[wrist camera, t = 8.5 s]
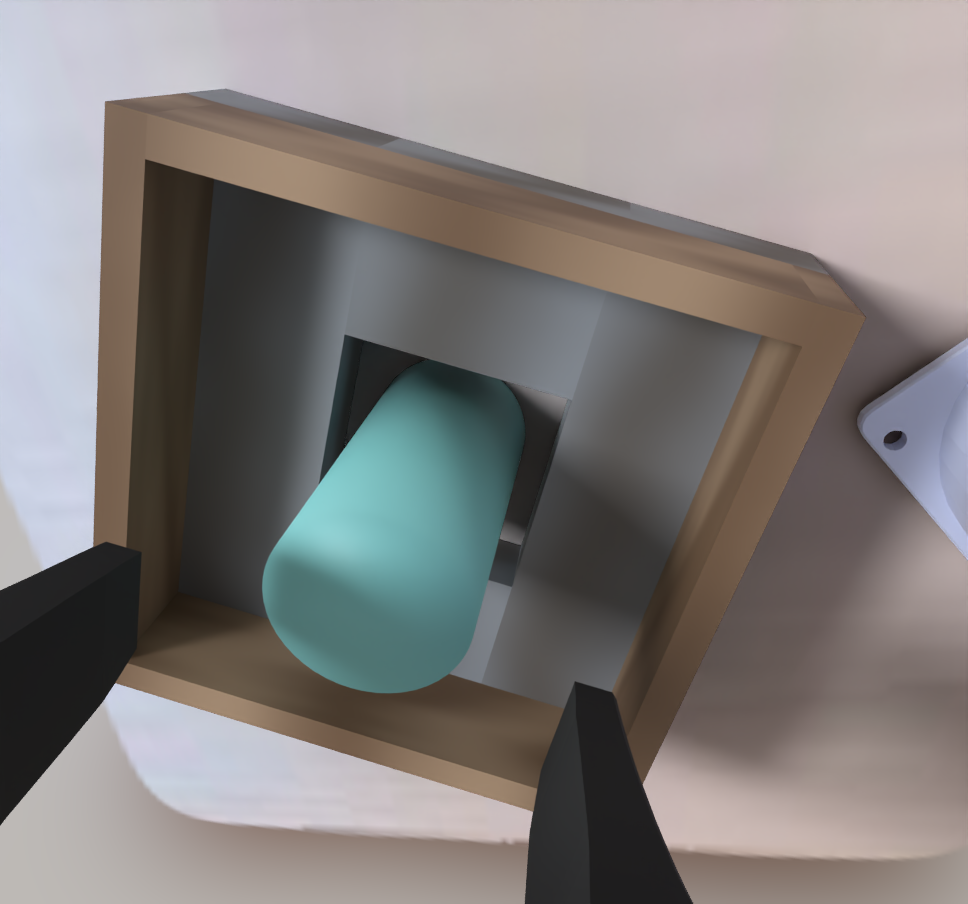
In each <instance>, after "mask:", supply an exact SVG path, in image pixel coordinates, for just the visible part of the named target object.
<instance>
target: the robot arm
mask: <svg viewBox="0 0 968 904" xmlns="http://www.w3.org/2000/svg"><path fill="white" fill-rule="evenodd" d="M857 426H858V428H859V430H860V432H861V434H862V436H863V437H864V439H865V440H866V441H867V442H868V443H869V444H870V446H871V447H872V448H873V449H874V450H875V451H876V453H877V454H878V455H879V456H880V457H881V459H882V460H883V461H884V462H885V463H886V464H887V466H888V467H889V468H890V469H891V470H892V472H893V473H894V474H895V475H896V476H897V477H898V479H899V480H900V481H901V482H902V483H903V485H904V486H905V487H906V488H907V489H908V490H909V492H910V493H911V494H912V495H913V496H914V497H915V499H916V500H917V501H918V502H919V503H920V505H921V506H922V507H923V508H924V509H925V510H926V512H927V513H928V514H929V515H930V516H931V518H932V519H933V520H934V521H935V522H936V523H937V525H938V526H939V527H940V528H941V529H942V531H943V532H944V533H945V534H946V535H947V536H948V538H949V539H950V540H951V541H952V542H953V544H954V545H955V546H956V547H957V548H958V549H959V551H960V552H961V553H962V554H963V555H964V556H965V558H966V559H967V560H968V338H967V339H965V340H964V341H962V342H961V343H959V344H958V345H956V346H955V347H953V348H952V349H950V350H949V351H947V352H946V353H944V354H943V355H941V356H940V357H938V358H937V359H935V360H934V361H932V362H931V363H929V364H928V365H926V366H925V367H923V368H922V369H920V370H919V371H917V372H916V373H914V374H913V375H911V376H910V377H908V378H907V379H905V380H904V381H902V382H901V383H899V384H898V385H897V386H895V387H894V388H892V389H891V390H889V391H888V392H886V393H885V394H883V395H882V396H880V397H879V398H877V399H876V400H874V401H873V402H871V403H870V404H868V405H867V406H866V407H865V408H864V409H863V410H861V412H860V414H859V416H858V418H857ZM894 430H895V431H902V436H901V438H900V439H899V440H898V441H897V442H894V443H892V444H889V443H884V442H883V440H884V437H885V436H886V435H887V434H888V433H889V432H892V431H894ZM141 556H142V552H140V551H136V550H133V549H130V548H126V547H123V546H119V545H116V544H113V543H109V542H104V543H102V544H99V545H97V546H95V547H92V548H90V549H88V550H86V551H84V552H82V553H79V554H77V555H75V556H73V557H71V558H69V559H67V560H65V561H62V562H60V563H58V564H56V565H54V566H52V567H50V568H48V569H46V570H44V571H41V572H39V573H37V574H35V575H33V576H31V577H29V578H27V579H24V580H22V581H20V582H18V583H16V584H13V585H11V586H9V587H7V588H5V589H3V590H0V825H1V824H2V823H3V821H4V820H5V819H6V817H7V816H8V815H9V814H10V812H11V811H12V810H13V809H14V808H15V807H16V805H17V804H18V803H19V802H20V801H21V799H22V798H23V797H24V796H25V795H26V794H27V792H28V791H29V790H30V789H31V788H32V786H33V785H34V784H35V783H36V782H37V780H38V779H39V778H40V777H41V776H42V774H43V773H44V772H45V771H46V769H48V767H49V766H50V765H51V764H52V763H53V761H54V760H55V759H56V758H57V757H58V755H59V754H60V753H61V752H62V751H63V749H64V748H65V747H66V746H67V745H68V744H69V742H70V741H71V740H72V739H73V737H74V736H75V735H76V734H77V732H78V731H79V730H80V729H81V728H82V726H83V725H84V724H85V723H86V722H87V721H88V719H89V718H90V717H91V716H92V714H93V713H94V712H95V711H96V709H97V708H98V707H99V706H100V704H101V703H102V702H103V701H104V699H105V697H106V696H107V694H108V693H109V691H110V690H111V688H112V687H113V685H114V684H115V682H116V681H117V679H118V678H119V676H120V675H121V673H122V671H123V670H124V668H125V667H126V665H127V663H128V662H129V660H130V658H131V657H132V655H133V654H134V652H135V650H136V649H137V633H138V614H139V595H140V576H141ZM525 904H693V902H692V900H691V898H690V896H689V894H688V892H687V890H686V888H685V886H684V884H683V882H682V880H681V877H680V875H679V873H678V871H677V869H676V867H675V865H674V862H673V860H672V858H671V855H670V853H669V851H668V848H667V846H666V844H665V842H664V839H663V837H662V834H661V832H660V829H659V827H658V825H657V822H656V820H655V817H654V814H653V812H652V809H651V806H650V804H649V801H648V798H647V796H646V793H645V790H644V788H643V785H642V782H641V779H640V777H639V774H638V771H637V768H636V765H635V762H634V759H633V755H632V752H631V749H630V746H629V743H628V739H627V736H626V733H625V729H624V726H623V722H622V718H621V715H620V711H619V707H618V703H617V699H616V698H615V696H614V694H613V692H610V691H606V690H603V689H599V688H596V687H593V686H589V685H586V684H583V683H579V682H576V681H575V682H574V685H573V687H572V690H571V693H570V695H569V698H568V701H567V703H566V706H565V708H564V711H563V714H562V716H561V719H560V721H559V724H558V727H557V729H556V732H555V735H554V737H553V740H552V742H551V745H550V748H549V750H548V753H547V755H546V758H545V761H544V763H543V766H542V769H541V772H540V777H539V783H538V788H537V794H536V799H535V805H534V811H533V816H532V822H531V828H530V836H529V850H528V864H527V879H526V894H525Z"/></svg>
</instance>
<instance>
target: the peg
mask: <svg viewBox="0 0 968 904" xmlns="http://www.w3.org/2000/svg"><path fill="white" fill-rule="evenodd" d="M524 442H525V422H524V418H523V413H522V411H521V408H520V405H519V403H518V401H517V399H516V398H515V396H514V394H513V393H512V392H511V390H510V389H509V388H508V386H507V385H506V384H505V383H504V382H503V381H502V380H500V379H497V378H493V377H490V376H486V375H483V374H479V373H476V372H472V371H469V370H466V369H462V368H459V367H455V366H452V365H448V364H445V363H441V362H438V361H435V360H426V361H423V362H420V363H417V364H415V365H413V366H411V367H409V368H408V369H406V370H405V371H403V372H402V373H401V374H399V375H398V376H397V377H396V378H395V379H394V380H393V382H392V383H391V384H390V385H389V387H388V388H387V389H386V391H385V392H384V394H383V395H382V396H381V398H380V399H379V401H378V402H377V403H376V405H375V406H374V408H373V409H372V411H371V412H370V413H369V415H368V416H367V418H366V419H365V420H364V422H363V423H362V425H361V426H360V427H359V429H358V430H357V432H356V433H355V434H354V436H353V437H352V439H351V440H350V442H349V443H348V444H347V446H346V447H345V449H344V450H343V451H342V453H341V454H340V456H339V457H338V458H337V460H336V461H335V463H334V464H333V465H332V467H331V468H330V470H329V471H328V472H327V474H326V475H325V477H324V478H323V480H322V481H321V482H320V484H319V485H318V487H317V488H316V489H315V491H314V492H313V494H312V495H311V496H310V498H309V499H308V501H307V502H306V503H305V505H304V506H303V508H302V509H301V510H300V512H299V513H298V515H297V516H296V518H295V519H294V520H293V522H292V523H291V525H290V526H289V527H288V529H287V530H286V532H285V533H284V534H283V536H282V537H281V539H280V540H279V541H278V543H277V544H276V546H275V547H274V549H273V551H272V552H271V554H270V556H269V558H268V560H267V563H266V566H265V569H264V574H263V582H262V592H263V601H264V605H265V609H266V613H267V615H268V618H269V620H270V623H271V625H272V626H273V628H274V630H275V632H276V634H277V635H278V637H279V638H280V639H281V641H282V642H283V643H284V645H285V646H286V647H287V648H288V649H289V650H290V651H291V653H292V654H293V655H294V656H296V657H297V658H298V659H299V660H300V661H301V662H302V663H303V664H305V665H306V666H308V667H309V668H310V669H312V670H313V671H315V672H316V673H318V674H320V675H321V676H323V677H325V678H327V679H329V680H331V681H333V682H336V683H338V684H341V685H343V686H346V687H349V688H353V689H357V690H361V691H366V692H374V693H402V692H408V691H413V690H417V689H420V688H423V687H426V686H429V685H431V684H433V683H435V682H437V681H439V680H440V679H442V678H443V677H445V676H446V675H448V674H449V673H450V672H451V671H452V670H453V669H454V668H456V667H457V665H458V664H459V663H460V662H461V660H462V659H463V658H464V656H465V654H466V653H467V651H468V649H469V647H470V644H471V641H472V639H473V635H474V632H475V628H476V624H477V620H478V616H479V613H480V609H481V605H482V601H483V598H484V594H485V590H486V586H487V583H488V579H489V575H490V571H491V568H492V564H493V560H494V556H495V553H496V549H497V545H498V541H499V538H500V534H501V530H502V526H503V523H504V519H505V515H506V511H507V508H508V504H509V500H510V496H511V493H512V489H513V485H514V481H515V478H516V474H517V470H518V466H519V463H520V459H521V455H522V451H523V447H524Z"/></svg>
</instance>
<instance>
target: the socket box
mask: <svg viewBox="0 0 968 904" xmlns="http://www.w3.org/2000/svg"><path fill="white" fill-rule="evenodd" d="M865 319H866V317H865V315H864V314H863V313H862V312H861V311H860V310H859V308H858V307H857V306H856V305H855V304H854V303H853V302H852V300H851V299H850V298H849V297H848V296H847V295H846V293H845V292H844V291H843V290H842V289H841V288H840V287H839V285H838V284H837V283H836V282H835V281H834V280H833V278H832V277H831V276H830V275H829V274H828V273H827V271H826V270H825V269H824V268H823V267H822V266H821V265H820V263H819V262H818V261H817V260H816V259H815V258H814V256H813V255H812V254H810V253H807V252H803V251H800V250H796V249H793V248H789V247H785V246H782V245H778V244H775V243H771V242H768V241H764V240H761V239H757V238H754V237H750V236H746V235H743V234H739V233H736V232H732V231H729V230H725V229H722V228H718V227H714V226H711V225H707V224H704V223H700V222H697V221H693V220H690V219H686V218H683V217H679V216H675V215H672V214H668V213H665V212H661V211H658V210H654V209H651V208H647V207H643V206H640V205H636V204H633V203H629V202H626V201H622V200H619V199H615V198H611V197H608V196H604V195H601V194H597V193H594V192H590V191H587V190H583V189H580V188H576V187H572V186H569V185H565V184H562V183H558V182H555V181H551V180H548V179H544V178H540V177H537V176H533V175H530V174H526V173H523V172H519V171H516V170H512V169H509V168H505V167H501V166H498V165H494V164H491V163H487V162H484V161H480V160H477V159H473V158H469V157H466V156H462V155H459V154H455V153H452V152H448V151H445V150H441V149H438V148H434V147H430V146H427V145H423V144H420V143H416V142H413V141H409V140H406V139H402V138H398V137H395V136H391V135H388V134H384V133H381V132H377V131H374V130H370V129H366V128H363V127H359V126H356V125H352V124H349V123H345V122H342V121H338V120H335V119H331V118H327V117H324V116H320V115H317V114H313V113H310V112H306V111H303V110H299V109H295V108H292V107H288V106H285V105H281V104H278V103H274V102H271V101H267V100H264V99H260V98H256V97H253V96H249V95H246V94H242V93H239V92H235V91H232V90H228V89H219V90H210V91H200V92H191V93H181V94H172V95H162V96H153V97H143V98H134V99H124V100H115V101H105V124H104V162H103V200H102V238H101V276H100V314H99V352H98V390H97V428H96V466H95V504H94V542H93V547H95V546H97V545H99V544H102V543H104V542H109V543H113V544H116V545H119V546H123V547H126V548H130V549H133V550H136V551H140V552H142V556H141V576H140V595H139V614H138V633H137V649H136V650H135V652H134V654H133V655H132V657H131V658H130V660H129V662H128V663H127V665H126V667H125V668H124V670H123V671H122V673H121V675H120V676H119V678H118V679H117V681H116V682H115V683H117V684H120V685H123V686H127V687H130V688H133V689H136V690H140V691H143V692H146V693H149V694H153V695H156V696H159V697H162V698H166V699H169V700H172V701H175V702H179V703H182V704H185V705H188V706H192V707H195V708H198V709H201V710H205V711H208V712H211V713H214V714H218V715H221V716H224V717H227V718H231V719H234V720H237V721H240V722H244V723H247V724H250V725H253V726H257V727H260V728H263V729H266V730H270V731H273V732H276V733H279V734H283V735H286V736H289V737H293V738H296V739H299V740H302V741H306V742H309V743H312V744H315V745H319V746H322V747H325V748H328V749H332V750H335V751H338V752H341V753H345V754H348V755H351V756H354V757H358V758H361V759H364V760H367V761H371V762H374V763H377V764H380V765H384V766H387V767H390V768H393V769H397V770H400V771H403V772H406V773H410V774H413V775H416V776H419V777H423V778H426V779H429V780H432V781H436V782H439V783H442V784H445V785H449V786H452V787H455V788H458V789H462V790H465V791H468V792H471V793H475V794H478V795H481V796H484V797H488V798H491V799H494V800H497V801H501V802H504V803H507V804H510V805H514V806H517V807H520V808H523V809H527V810H530V811H534V805H535V799H536V794H537V788H538V783H539V777H540V772H541V769H542V766H543V763H544V761H545V758H546V755H547V753H548V750H549V748H550V745H551V742H552V740H553V737H554V735H555V732H556V729H557V727H558V724H559V721H560V719H561V716H562V714H563V711H564V708H565V706H566V703H567V701H568V698H569V695H570V693H571V690H572V687H573V685H574V682H575V681H576V682H579V683H583V684H586V685H589V686H593V687H596V688H599V689H603V690H606V691H610V692H613V694H614V696H615V698H616V699H617V703H618V707H619V711H620V715H621V718H622V722H623V726H624V729H625V733H626V736H627V739H628V743H629V746H630V749H631V752H632V755H633V759H634V762H635V765H636V768H637V771H638V774H639V777H640V779H641V782H642V784H643V782H644V780H645V778H646V776H647V774H648V772H649V770H650V768H651V766H652V763H653V761H654V759H655V757H656V755H657V753H658V751H659V749H660V747H661V745H662V743H663V740H664V738H665V736H666V734H667V732H668V730H669V728H670V726H671V724H672V722H673V720H674V718H675V715H676V713H677V711H678V709H679V707H680V705H681V703H682V701H683V699H684V697H685V695H686V692H687V690H688V688H689V686H690V684H691V682H692V680H693V678H694V676H695V674H696V672H697V670H698V667H699V665H700V663H701V661H702V659H703V657H704V655H705V653H706V651H707V649H708V647H709V644H710V642H711V640H712V638H713V636H714V634H715V632H716V630H717V628H718V626H719V624H720V621H721V619H722V617H723V615H724V613H725V611H726V609H727V607H728V605H729V603H730V601H731V599H732V596H733V594H734V592H735V590H736V588H737V586H738V584H739V582H740V580H741V578H742V576H743V573H744V571H745V569H746V567H747V565H748V563H749V561H750V559H751V557H752V555H753V553H754V550H755V548H756V546H757V544H758V542H759V540H760V538H761V536H762V534H763V532H764V530H765V528H766V525H767V523H768V521H769V519H770V517H771V515H772V513H773V511H774V509H775V507H776V505H777V502H778V500H779V498H780V496H781V494H782V492H783V490H784V488H785V486H786V484H787V482H788V480H789V477H790V475H791V473H792V471H793V469H794V467H795V465H796V463H797V461H798V459H799V457H800V454H801V452H802V450H803V448H804V446H805V444H806V442H807V440H808V438H809V436H810V434H811V431H812V429H813V427H814V425H815V423H816V421H817V419H818V417H819V415H820V413H821V411H822V409H823V406H824V404H825V402H826V400H827V398H828V396H829V394H830V392H831V390H832V388H833V386H834V383H835V381H836V379H837V377H838V375H839V373H840V371H841V369H842V367H843V365H844V363H845V361H846V358H847V356H848V354H849V352H850V350H851V348H852V346H853V344H854V342H855V340H856V338H857V335H858V333H859V331H860V329H861V327H862V325H863V323H864V321H865ZM363 340H366V341H369V342H373V343H376V344H379V345H383V346H386V347H390V348H393V349H397V350H400V351H404V352H407V353H410V354H414V355H417V356H421V357H424V358H428V359H431V360H435V361H438V362H441V363H445V364H448V365H452V366H455V367H459V368H462V369H466V370H469V371H472V372H476V373H479V374H483V375H486V376H490V377H493V378H497V379H500V380H503V381H507V382H510V383H514V384H517V385H521V386H524V387H528V388H531V389H534V390H538V391H541V392H545V393H548V394H552V395H555V396H559V397H562V398H565V399H568V401H567V404H566V407H565V410H564V413H563V416H562V419H561V423H560V426H559V429H558V432H557V435H556V438H555V441H554V445H553V448H552V451H551V454H550V457H549V460H548V463H547V467H546V470H545V473H544V476H543V479H542V482H541V485H540V489H539V492H538V495H537V498H536V501H535V504H534V507H533V511H532V514H531V517H530V520H529V523H528V526H527V529H526V533H525V536H524V539H523V542H522V545H521V546H519V545H515V544H512V543H508V542H505V541H502V540H499V541H498V545H497V549H496V553H495V556H494V560H493V564H492V568H491V571H490V575H489V579H488V583H487V586H486V590H485V594H484V598H483V601H482V605H481V609H480V613H479V616H478V620H477V624H476V628H475V632H474V635H473V639H472V641H471V644H470V647H469V649H468V651H467V653H466V654H465V656H464V658H463V659H462V660H461V662H460V663H459V664H458V665H457V667H456V668H454V669H453V670H452V671H451V672H450V673H449V674H448V675H446V676H445V677H443V678H442V679H440V680H439V681H437V682H435V683H433V684H431V685H429V686H426V687H423V688H420V689H417V690H413V691H408V692H402V693H374V692H366V691H361V690H357V689H353V688H349V687H346V686H343V685H341V684H338V683H336V682H333V681H331V680H329V679H327V678H325V677H323V676H321V675H320V674H318V673H316V672H315V671H313V670H312V669H310V668H309V667H308V666H306V665H305V664H303V663H302V662H301V661H300V660H299V659H298V658H297V657H296V656H294V655H293V654H292V653H291V651H290V650H289V649H288V648H287V647H286V646H285V645H284V643H283V642H282V641H281V639H280V638H279V637H278V635H277V634H276V632H275V630H274V628H273V626H272V625H271V623H270V620H269V618H268V615H267V613H266V609H265V605H264V601H263V592H262V582H263V574H264V569H265V566H266V563H267V560H268V558H269V556H270V554H271V552H272V551H273V549H274V547H275V546H276V544H277V543H278V541H279V540H280V539H281V537H282V536H283V534H284V533H285V532H286V530H287V529H288V527H289V526H290V525H291V523H292V522H293V520H294V519H295V518H296V516H297V515H298V513H299V512H300V510H301V509H302V508H303V506H304V505H305V503H306V502H307V501H308V499H309V498H310V496H311V495H312V494H313V492H314V491H315V489H316V488H317V487H318V485H319V484H320V482H321V481H322V480H323V478H324V477H325V475H326V474H327V472H328V471H329V470H330V468H331V467H332V465H333V464H334V463H335V461H336V460H337V458H338V457H339V456H340V454H341V453H342V451H343V447H344V441H345V436H346V431H347V425H348V420H349V414H350V409H351V403H352V398H353V393H354V387H355V382H356V376H357V371H358V365H359V360H360V355H361V349H362V344H363Z"/></svg>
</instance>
